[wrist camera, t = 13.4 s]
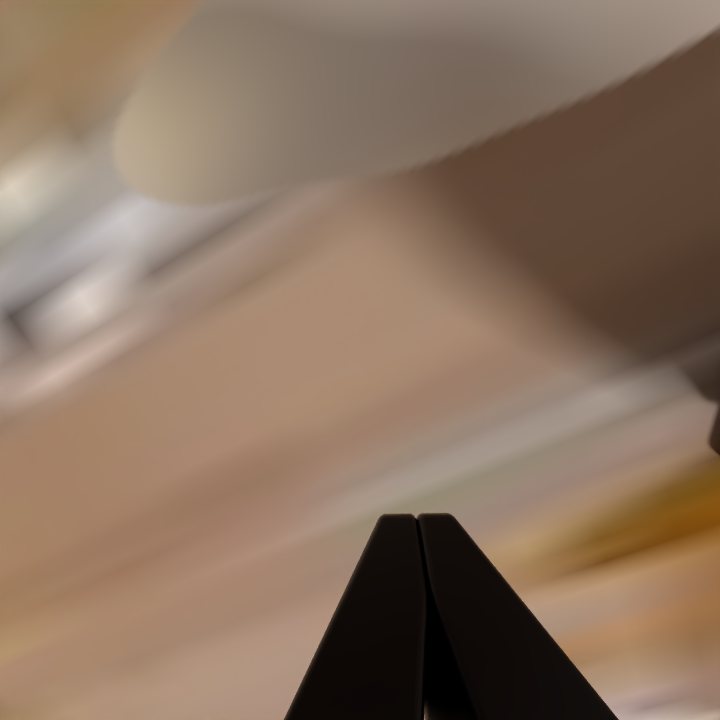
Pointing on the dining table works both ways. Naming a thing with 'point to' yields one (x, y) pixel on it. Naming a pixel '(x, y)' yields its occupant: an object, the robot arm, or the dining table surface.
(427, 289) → the dining table surface
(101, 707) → the dining table surface
